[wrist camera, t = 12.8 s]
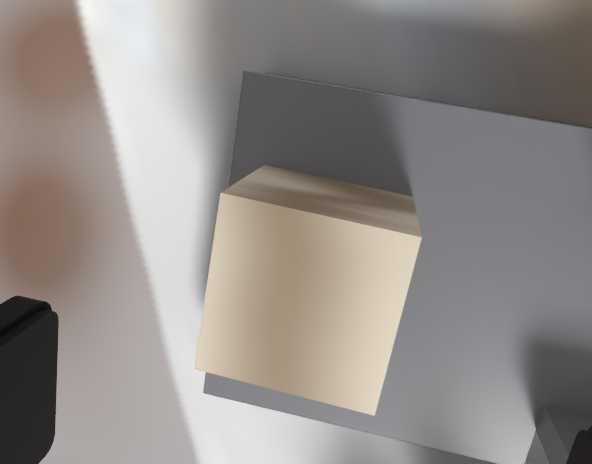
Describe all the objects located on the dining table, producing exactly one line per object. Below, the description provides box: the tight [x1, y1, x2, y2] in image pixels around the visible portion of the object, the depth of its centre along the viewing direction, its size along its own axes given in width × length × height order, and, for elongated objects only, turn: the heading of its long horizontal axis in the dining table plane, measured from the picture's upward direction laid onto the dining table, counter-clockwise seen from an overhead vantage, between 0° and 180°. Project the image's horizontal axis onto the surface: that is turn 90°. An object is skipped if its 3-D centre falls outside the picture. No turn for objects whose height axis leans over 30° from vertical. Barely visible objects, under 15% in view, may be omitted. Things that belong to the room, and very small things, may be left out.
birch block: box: [194, 165, 422, 416], centre depth 16 cm, size 5×5×5 cm
